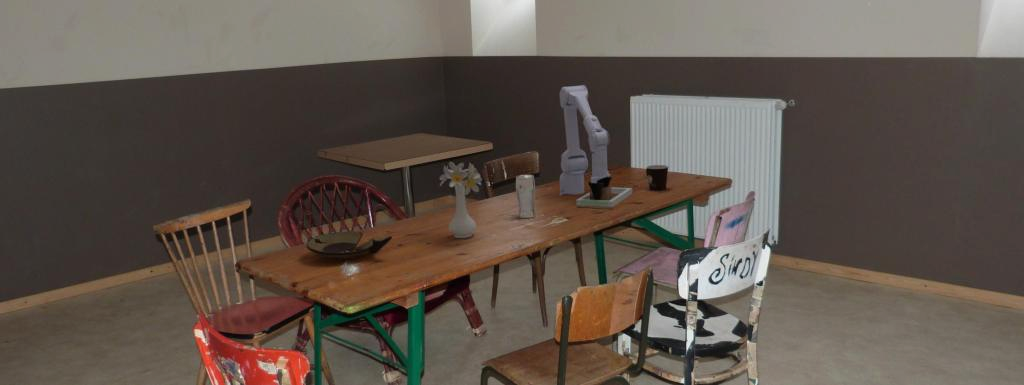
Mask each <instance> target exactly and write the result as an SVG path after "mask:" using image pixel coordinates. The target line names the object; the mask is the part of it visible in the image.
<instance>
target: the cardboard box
mask: <svg viewBox="0 0 1024 385" xmlns="http://www.w3.org/2000/svg"><path fill="white" fill-rule="evenodd" d="M611 187H612V186H609V187H602V190H601V198H600V200H607V201H610V200H611V199H613V197H612V194H611ZM589 192H590V200H594V197H593V193H592V190H591V188H590V187H589Z"/></svg>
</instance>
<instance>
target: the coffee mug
mask: <svg viewBox="0 0 1024 385" xmlns="http://www.w3.org/2000/svg"><path fill="white" fill-rule="evenodd" d="M668 172H669V165H664V164H653V165H652V164H651V165H647V166H646V169H645V174H646V177H647V181H648V189H649V191H652V192H653V191H654V192H661V191H666V189H667V181H668Z"/></svg>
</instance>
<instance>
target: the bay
mask: <svg viewBox="0 0 1024 385" xmlns="http://www.w3.org/2000/svg"><path fill="white" fill-rule="evenodd" d="M610 187H611V195H612V194H614V195H616V196H614V197H612V199H611V200H610V201H607V200H590V191H589V192H587V193H586V194H584V195H582V196H581V197H579V198H577V199H576V208H577V209H589V207H591V209H594V210H595V209H597V210H608V208H609V210H614V208H615V206H616V205H618V204H619V203H621V202H622V201H624V200H625V199H626V198H629V197H630V196H631V195H632V194H633V188H632V187H612V186H610ZM613 207H614V208H613Z"/></svg>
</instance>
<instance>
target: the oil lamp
mask: <svg viewBox="0 0 1024 385" xmlns="http://www.w3.org/2000/svg"><path fill="white" fill-rule="evenodd" d="M362 237H363V233H362V232H360V231H337V232H333V233H332V232H331V233H325V234H320V235H315V237H311V238H308V239H307V242H306V248H307V250H309V251H310V252H311V253H314V254H317V255H319V256H323V257H325V258H330V259H337V260H340V259H341V260H344V258H347V259H352V257H353V258H357V257H360V256H364V255H367V254H369V255H375V254H378V252H380V251H381V249H383V247H385V246H386V245H387V244H388V243H389V242H390V241H391V240H392V239H393V236H392V235H388V236H386V237H384V238H383V237H381V236H376V237H373V238H371V239H369V240H368V241H366V242H364V243H362V244H361V245H358V244H359V243H360V241H361V239H362ZM351 250H352V251H351ZM355 250H356V251H355ZM346 251H350V252H346ZM342 252H343V253H342Z"/></svg>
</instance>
